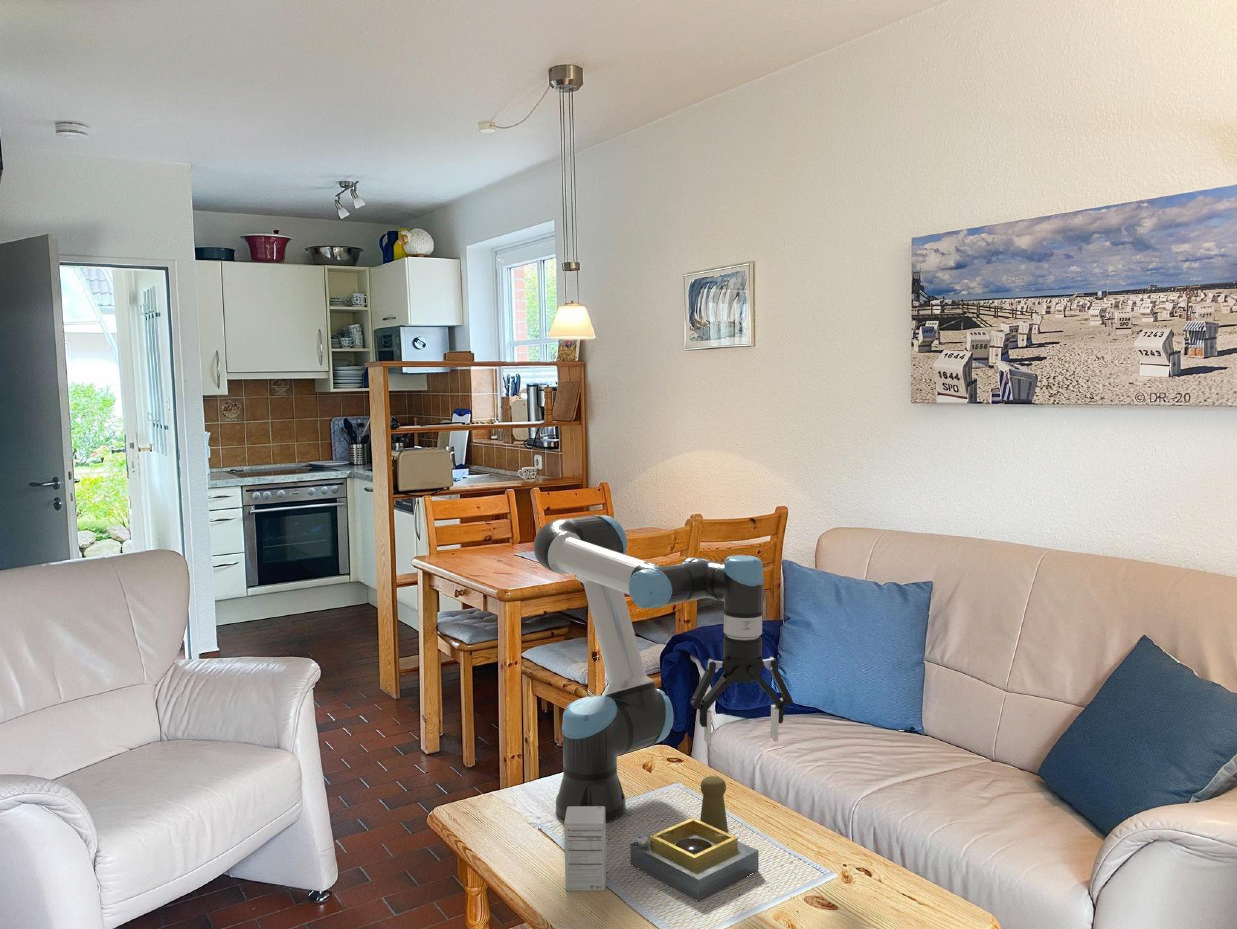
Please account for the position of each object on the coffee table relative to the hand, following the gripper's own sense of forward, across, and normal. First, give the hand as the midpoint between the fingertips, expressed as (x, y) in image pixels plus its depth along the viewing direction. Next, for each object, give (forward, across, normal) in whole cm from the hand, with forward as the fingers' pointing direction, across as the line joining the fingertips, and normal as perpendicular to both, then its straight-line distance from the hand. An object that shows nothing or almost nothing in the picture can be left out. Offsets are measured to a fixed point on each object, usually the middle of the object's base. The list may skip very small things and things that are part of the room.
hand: (741, 740), depth 182 cm
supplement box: (+21, -32, -11) cm, 40 cm away
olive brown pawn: (+21, -4, +5) cm, 22 cm away
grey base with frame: (+21, -11, -9) cm, 25 cm away
